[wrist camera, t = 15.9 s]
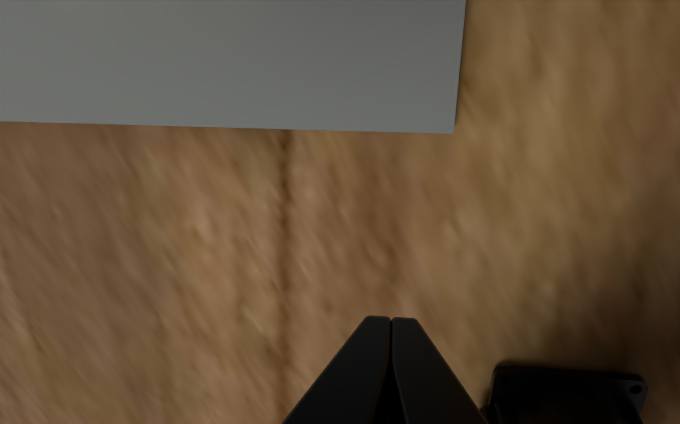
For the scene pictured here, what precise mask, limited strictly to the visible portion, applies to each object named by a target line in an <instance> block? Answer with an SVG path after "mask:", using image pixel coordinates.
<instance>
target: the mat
mask: <svg viewBox="0 0 680 424" xmlns="http://www.w3.org/2000/svg"><path fill="white" fill-rule="evenodd" d="M465 5H466V0H0V121H16V122H52V123H88V124H124V125H159V126H195V127H231V128H267V129H303V130H338V131H374V132H410V133H446V134H454V124H455V113H456V102H457V91H458V81H459V70H460V59H461V48H462V38H463V27H464V16H465Z"/></svg>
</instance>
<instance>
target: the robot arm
mask: <svg viewBox="0 0 680 424" xmlns="http://www.w3.org/2000/svg"><path fill="white" fill-rule="evenodd" d="M503 376H508V377H507V378H501V377H503ZM634 385H637V386H635V387H632V386H634ZM647 391H648V386H647V385H646V383H645V381H644V379H643V377H641V376H640V375H636V374H624V373H609V372H594V371H579V370H565V369H550V368H535V367H520V366H499V367H497V368H496V369H495V370H494V371H493V373H492V380H491V386H490V392H489V398H488V405H483V406H482V407H481V408H480V410H479V409H478V408H477V406H476V405H475V403H474V402H473V400H472V399H471V397H470V396H469V395H468V393H467V392H466V390H465V389H464V387H463V386H462V384H461V383H460V381H459V380H458V379H457V377H456V376H455V374H454V373H453V371H452V370H451V368H450V367H449V365H448V364H447V363H446V361H445V360H444V358H443V357H442V355H441V354H440V352H439V351H438V350H437V348H436V347H435V345H434V344H433V342H432V341H431V339H430V338H429V336H428V335H427V334H426V332H425V331H424V329H423V328H422V326H421V325H420V323H419V322H418V321H417V320H416V319H415V318H403V317H394V318H393V319H392V321H391V319H390V318H389V317H386V316H367V317H365V318H364V320H363V321H362V322H361V323H360V325H359V326H358V327H357V329H356V330H355V331H354V332H353V334H352V335H351V336H350V337H349V339H348V340H347V341H346V342H345V344H344V345H343V346H342V348H341V349H340V350H339V351H338V353H337V354H336V355H335V356H334V358H333V359H332V360H331V361H330V363H329V364H328V365H327V367H326V368H325V369H324V370H323V372H322V373H321V374H320V375H319V377H318V378H317V379H316V380H315V382H314V383H313V384H312V386H311V387H310V388H309V389H308V391H307V392H306V393H305V394H304V396H303V397H302V398H301V399H300V401H299V402H298V403H297V404H296V406H295V407H294V408H293V410H292V411H291V412H290V413H289V415H288V416H287V417H286V418H285V420H284V421H283V422H282V423H281V424H644V423H643V421H642V420H641V418H640V416H639V415H640V412H641V409H642V406H643V403H644V400H645V397H646V394H647Z"/></svg>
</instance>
